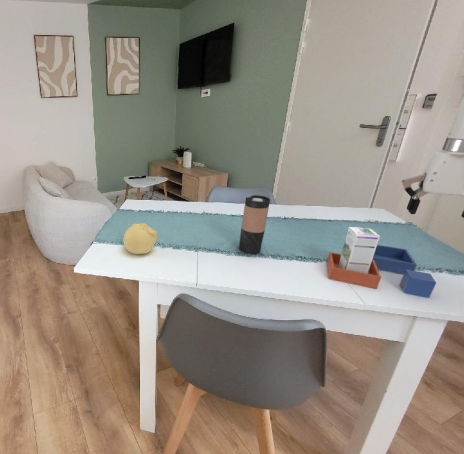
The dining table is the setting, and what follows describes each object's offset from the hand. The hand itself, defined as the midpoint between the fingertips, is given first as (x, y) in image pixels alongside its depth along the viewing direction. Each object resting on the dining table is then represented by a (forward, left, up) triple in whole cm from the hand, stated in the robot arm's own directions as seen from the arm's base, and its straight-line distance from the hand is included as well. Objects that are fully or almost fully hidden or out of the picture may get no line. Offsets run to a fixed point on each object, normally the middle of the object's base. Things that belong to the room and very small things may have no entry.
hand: (437, 215), depth 74 cm
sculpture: (+77, +13, -23) cm, 82 cm away
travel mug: (+41, -6, -23) cm, 48 cm away
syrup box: (+12, -2, -22) cm, 25 cm away
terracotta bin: (+12, -2, -22) cm, 26 cm away
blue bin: (+2, -15, -22) cm, 27 cm away
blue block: (-2, 0, -22) cm, 22 cm away
